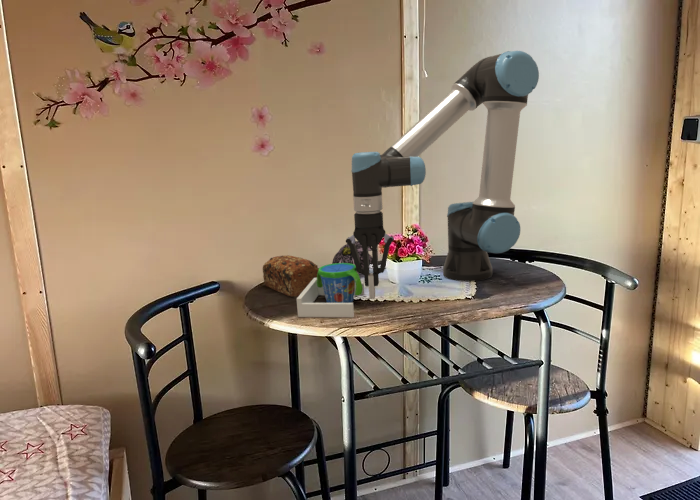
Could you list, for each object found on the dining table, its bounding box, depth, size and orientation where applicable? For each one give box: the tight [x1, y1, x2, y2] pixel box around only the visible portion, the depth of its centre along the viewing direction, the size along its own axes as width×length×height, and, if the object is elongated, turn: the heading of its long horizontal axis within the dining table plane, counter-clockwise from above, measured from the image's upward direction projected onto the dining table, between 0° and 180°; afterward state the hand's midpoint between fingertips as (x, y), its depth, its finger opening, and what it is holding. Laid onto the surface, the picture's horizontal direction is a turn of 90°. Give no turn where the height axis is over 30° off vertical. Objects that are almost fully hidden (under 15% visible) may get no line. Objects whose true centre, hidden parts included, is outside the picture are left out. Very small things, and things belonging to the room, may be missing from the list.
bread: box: [262, 254, 319, 298], centre depth 167 cm, size 19×11×10 cm, turn 34°
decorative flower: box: [331, 240, 373, 276], centre depth 179 cm, size 14×12×15 cm
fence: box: [296, 278, 365, 318], centre depth 150 cm, size 15×20×5 cm
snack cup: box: [317, 263, 363, 303], centre depth 151 cm, size 16×10×10 cm
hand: (372, 297), depth 149 cm, fingers closed
